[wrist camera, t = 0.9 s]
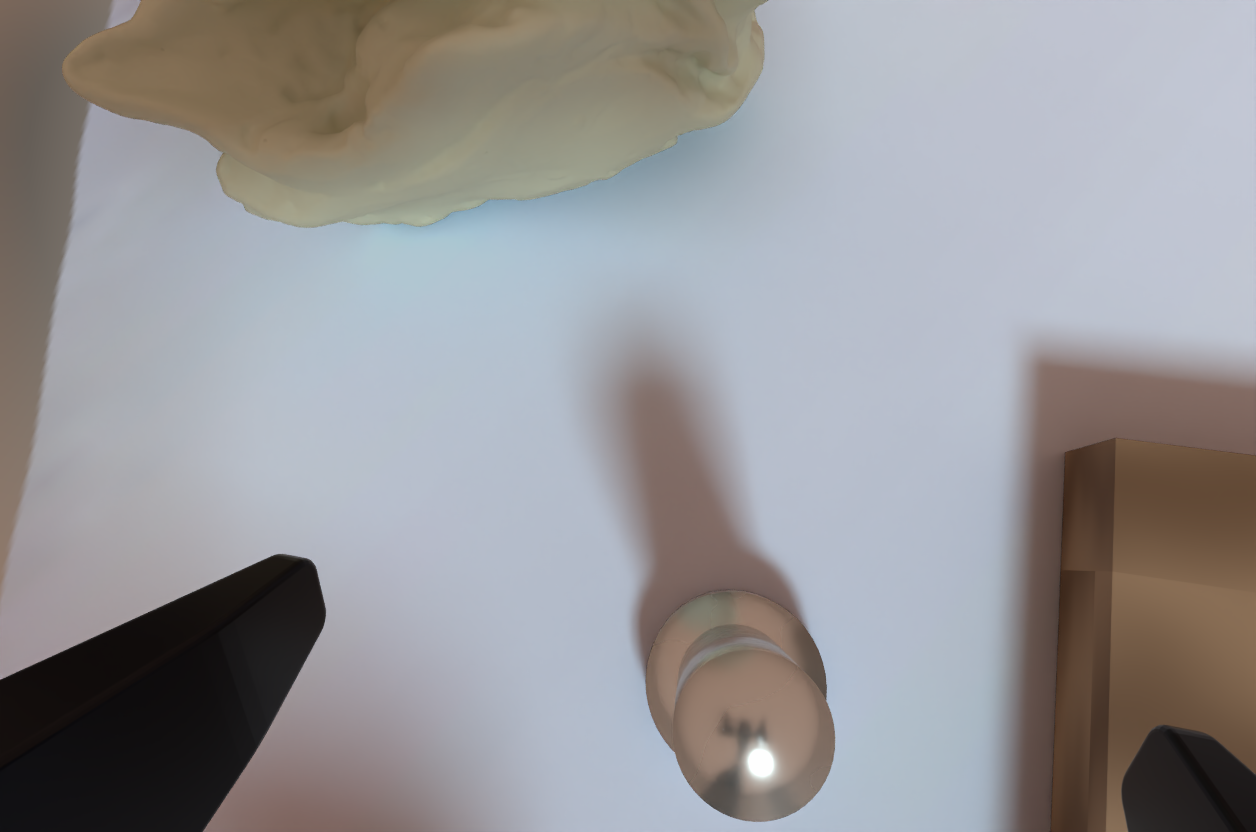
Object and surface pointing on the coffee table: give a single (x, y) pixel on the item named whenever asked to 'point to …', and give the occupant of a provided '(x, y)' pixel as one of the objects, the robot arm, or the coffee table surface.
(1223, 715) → the keyhole plate
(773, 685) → the steel peg
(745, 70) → the folded clay sculpture
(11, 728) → the robot arm
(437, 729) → the coffee table surface
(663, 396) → the coffee table surface
